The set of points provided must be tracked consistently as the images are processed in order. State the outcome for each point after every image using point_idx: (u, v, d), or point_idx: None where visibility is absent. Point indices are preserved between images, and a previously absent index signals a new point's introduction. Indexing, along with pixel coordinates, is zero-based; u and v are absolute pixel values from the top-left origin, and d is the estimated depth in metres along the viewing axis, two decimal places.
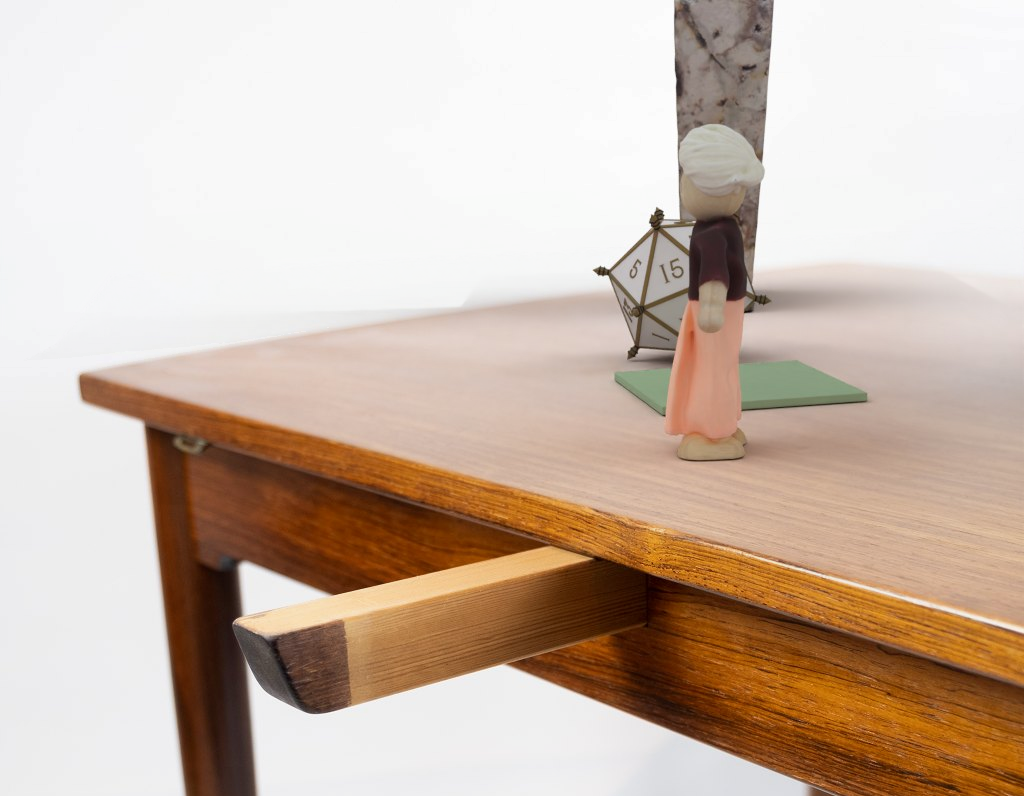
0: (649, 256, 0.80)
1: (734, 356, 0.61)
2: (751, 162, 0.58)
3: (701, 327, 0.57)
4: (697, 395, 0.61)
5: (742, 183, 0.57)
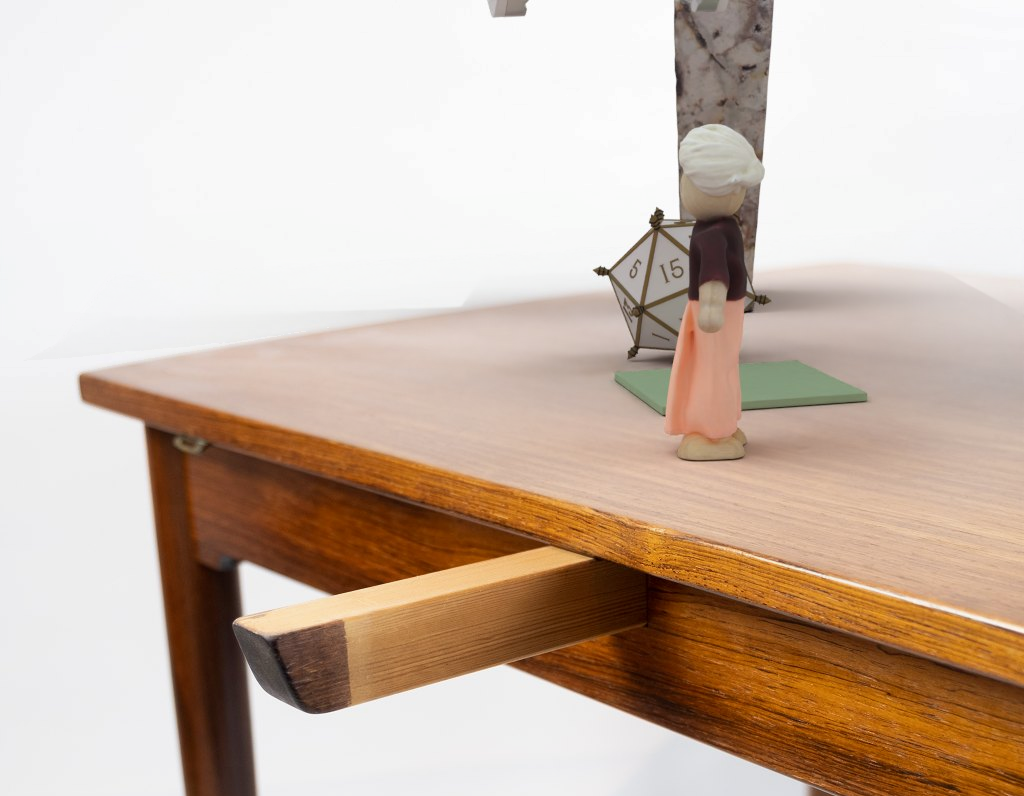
0: (649, 256, 0.80)
1: (734, 356, 0.61)
2: (751, 162, 0.58)
3: (701, 327, 0.57)
4: (697, 395, 0.61)
5: (742, 183, 0.57)
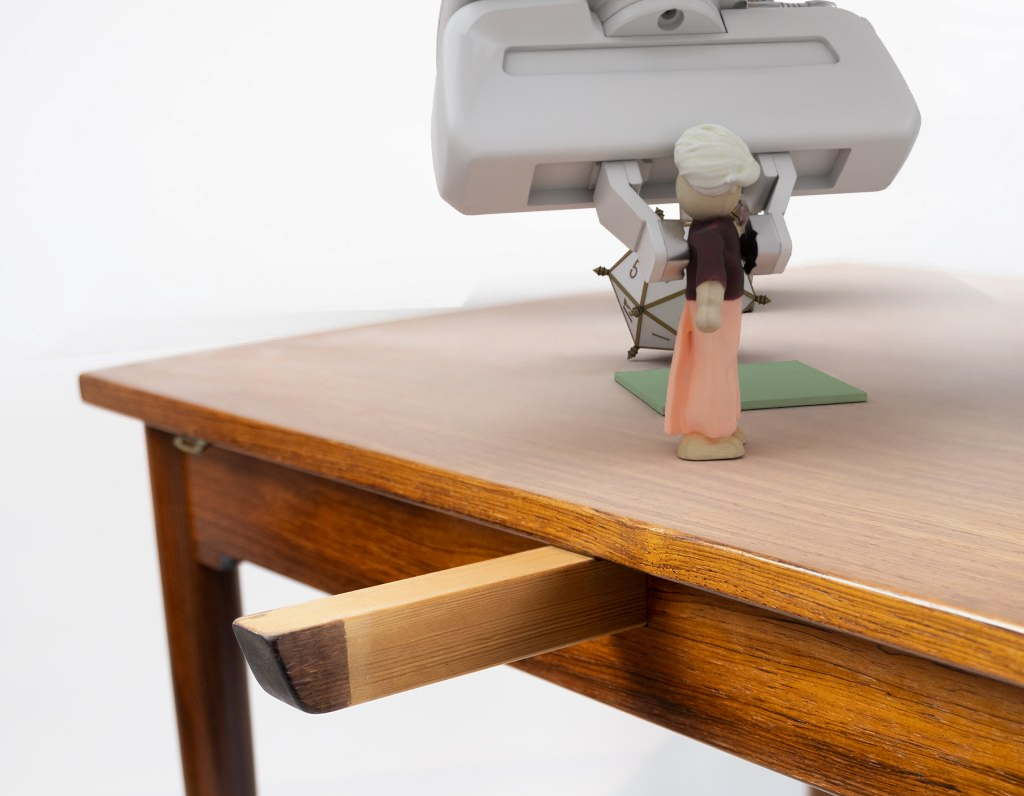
0: None
1: (732, 355, 0.61)
2: (746, 161, 0.58)
3: (699, 327, 0.57)
4: (696, 395, 0.61)
5: (738, 182, 0.57)
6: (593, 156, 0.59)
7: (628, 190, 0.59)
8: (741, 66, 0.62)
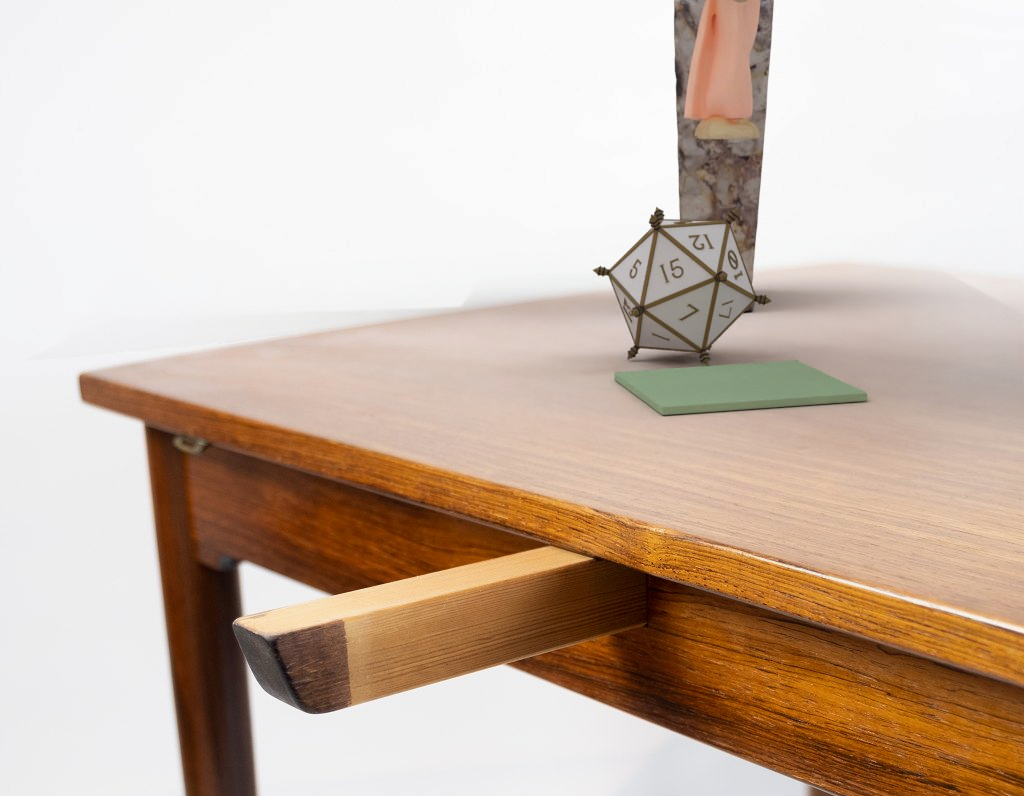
0: (649, 256, 0.80)
1: (752, 40, 0.65)
2: None
3: None
4: (719, 76, 0.66)
5: None
6: None
7: None
8: None
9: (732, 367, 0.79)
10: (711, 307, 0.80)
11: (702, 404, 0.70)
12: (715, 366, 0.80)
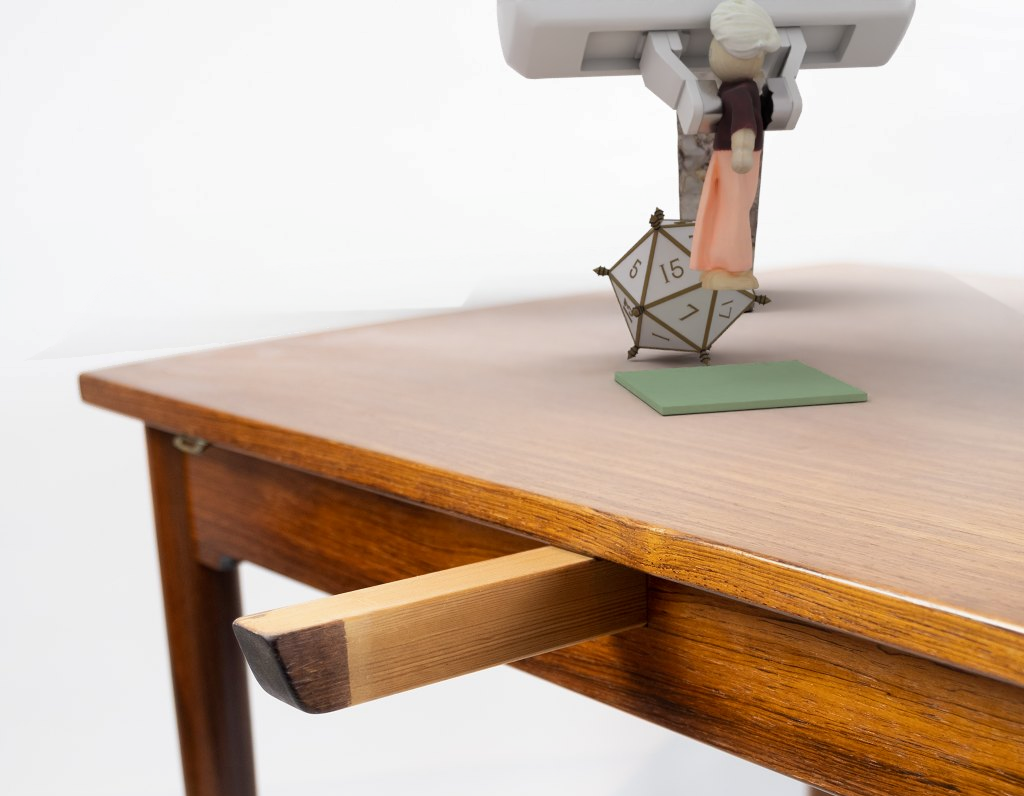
0: (649, 256, 0.80)
1: (752, 201, 0.71)
2: (772, 31, 0.68)
3: (735, 168, 0.68)
4: (721, 234, 0.72)
5: (765, 48, 0.68)
6: (638, 26, 0.70)
7: (670, 55, 0.70)
8: None
9: (732, 367, 0.79)
10: (711, 307, 0.80)
11: (702, 404, 0.70)
12: (715, 366, 0.80)
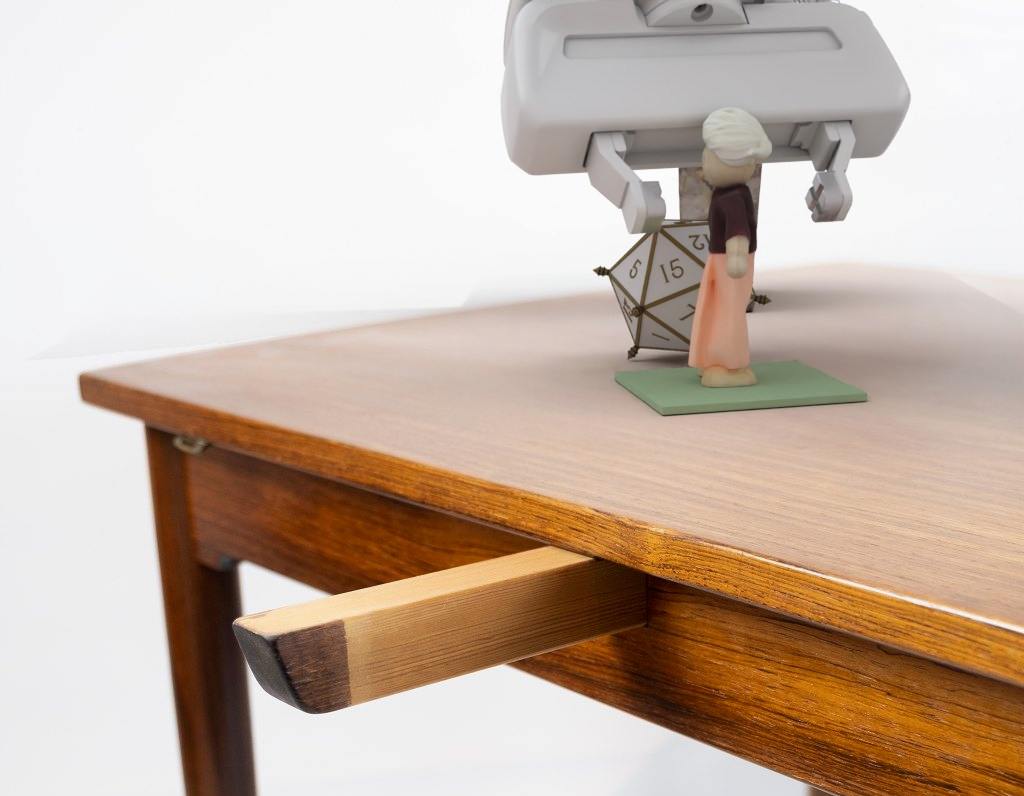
0: (649, 256, 0.80)
1: (748, 300, 0.73)
2: (763, 138, 0.70)
3: (730, 274, 0.70)
4: (718, 333, 0.73)
5: (757, 155, 0.70)
6: (638, 125, 0.71)
7: (614, 156, 0.71)
8: (760, 51, 0.74)
9: None
10: None
11: (702, 404, 0.70)
12: None
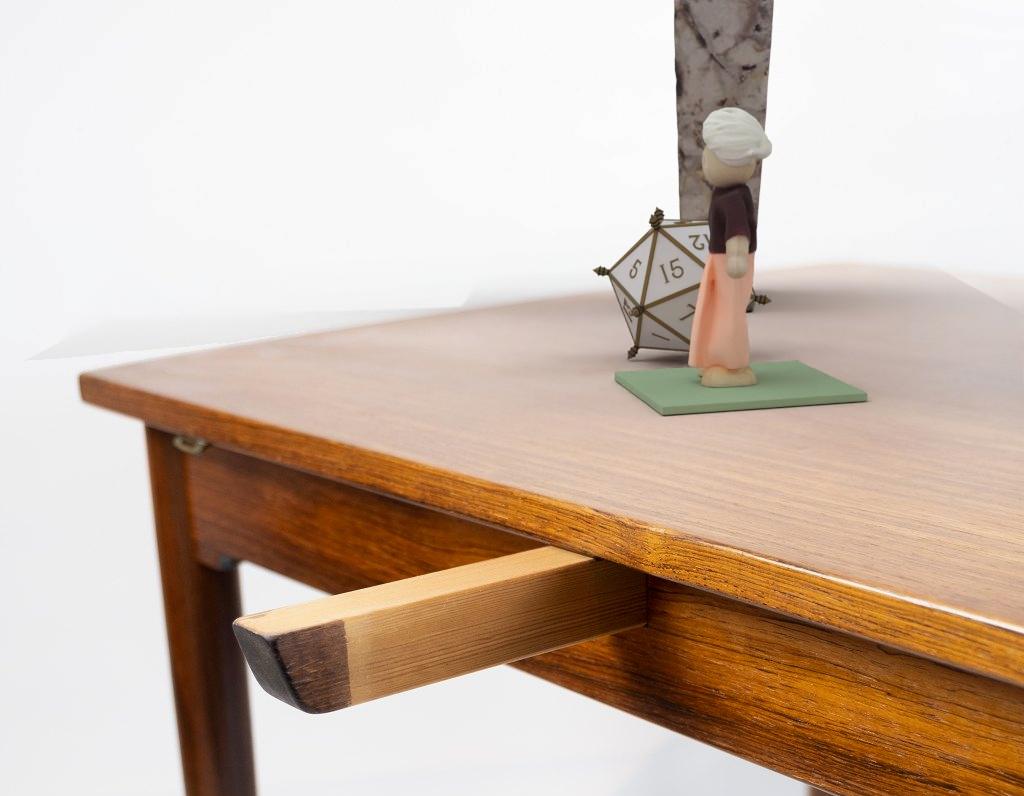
0: (649, 256, 0.80)
1: (748, 300, 0.73)
2: (763, 138, 0.70)
3: (730, 274, 0.70)
4: (718, 333, 0.73)
5: (757, 155, 0.70)
6: None
7: None
8: None
9: None
10: None
11: (702, 404, 0.70)
12: None
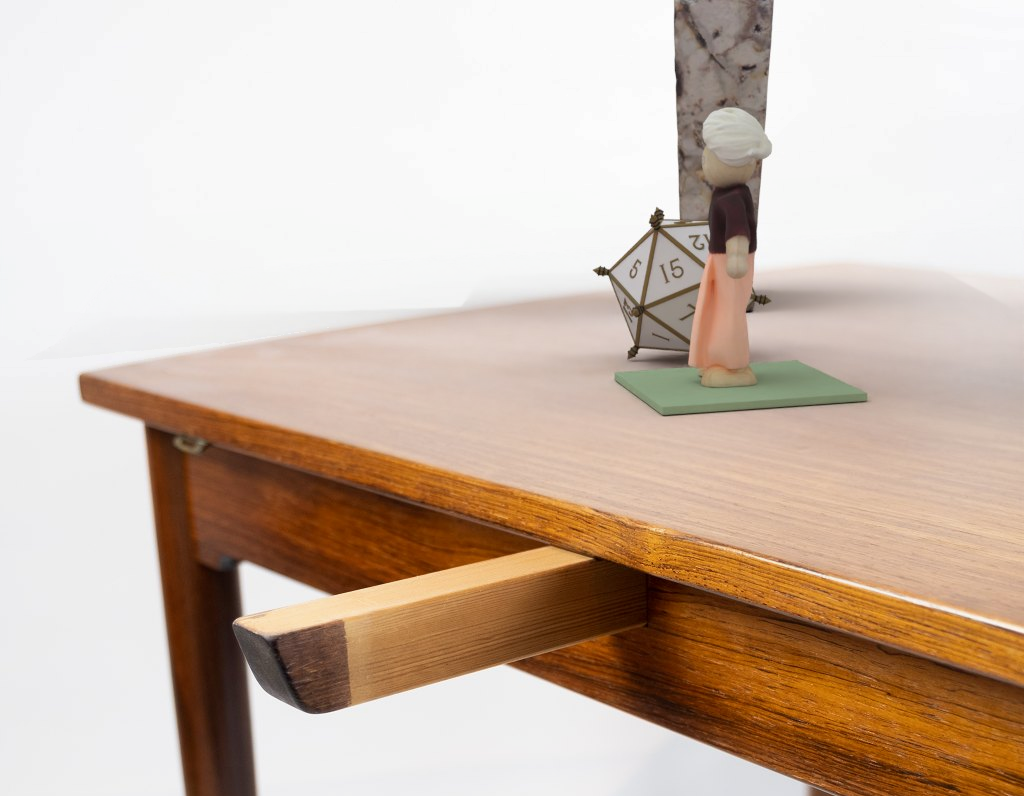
0: (649, 256, 0.80)
1: (748, 300, 0.73)
2: (763, 138, 0.70)
3: (730, 274, 0.70)
4: (718, 333, 0.73)
5: (757, 155, 0.70)
6: None
7: None
8: None
9: None
10: None
11: (702, 404, 0.70)
12: None
